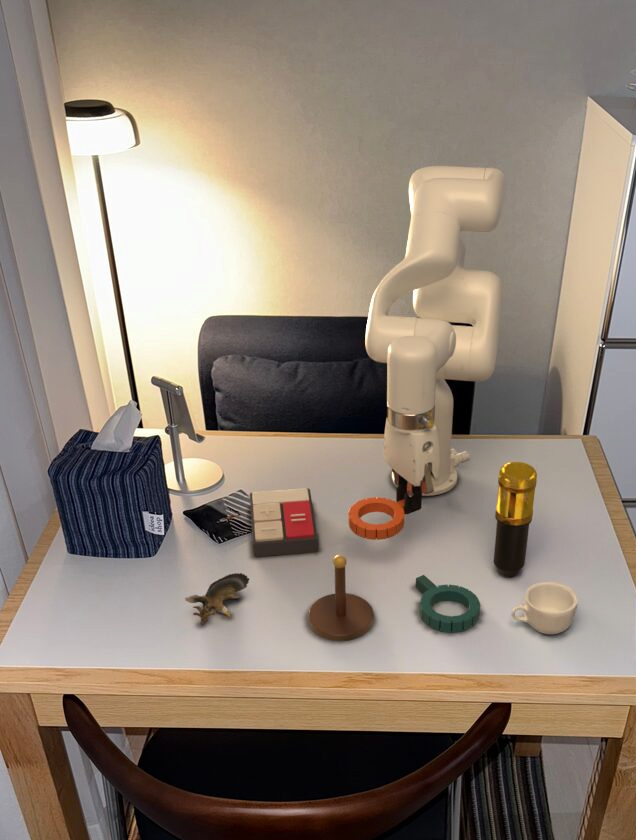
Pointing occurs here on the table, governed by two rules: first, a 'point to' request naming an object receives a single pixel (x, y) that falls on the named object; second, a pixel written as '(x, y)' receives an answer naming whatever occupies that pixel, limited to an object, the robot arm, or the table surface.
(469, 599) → the teal ring
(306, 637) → the table surface
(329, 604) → the peg stand
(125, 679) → the table surface
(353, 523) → the orange ring
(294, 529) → the calculator
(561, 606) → the teacup
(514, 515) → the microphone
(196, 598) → the eagle figurine
